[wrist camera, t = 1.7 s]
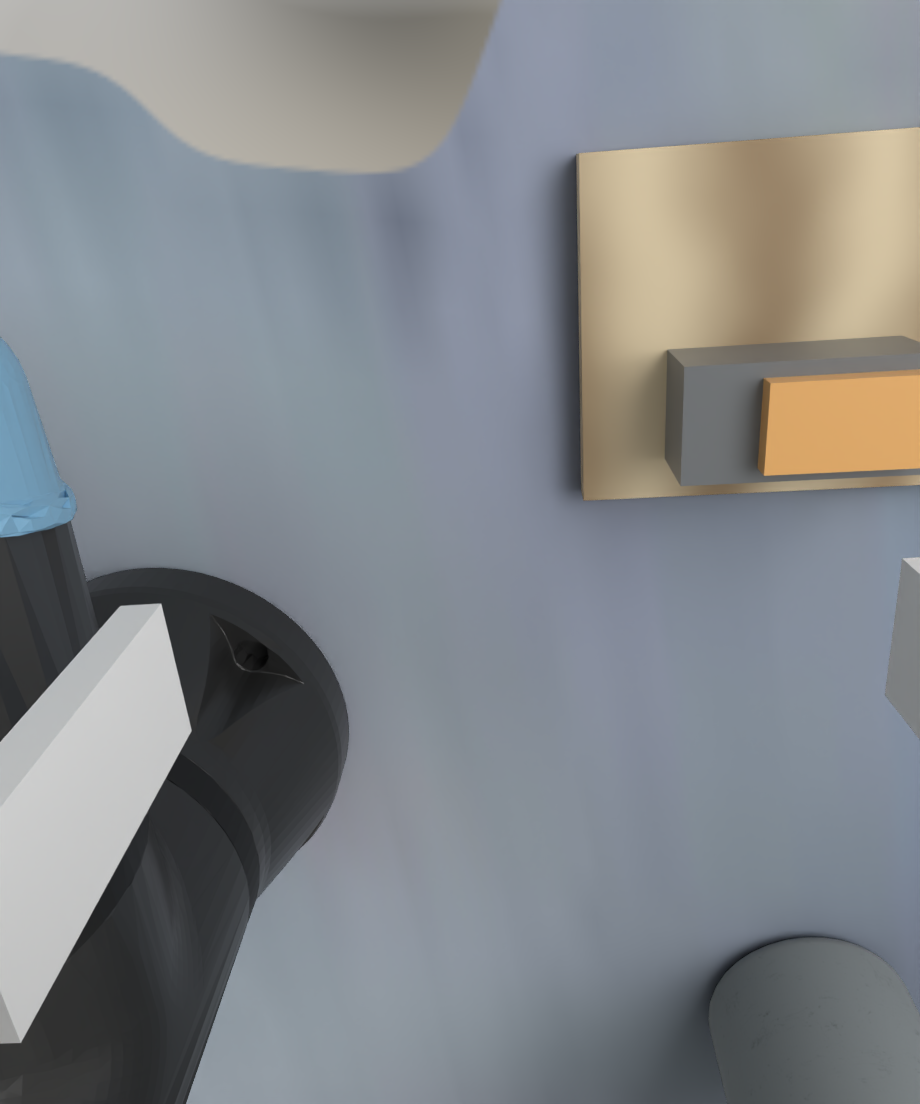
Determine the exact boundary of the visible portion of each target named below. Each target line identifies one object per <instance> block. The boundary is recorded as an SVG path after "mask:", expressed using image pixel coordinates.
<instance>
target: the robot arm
mask: <svg viewBox="0 0 920 1104" xmlns="http://www.w3.org/2000/svg"><path fill="white" fill-rule="evenodd" d="M76 511H77V505H76V500H75V496H74V493H73V491H72V489H71V488H70V487H69V486H68V485H67V484H66V483H65V482H64V481H62V480H61V479H60V477H59V474H58V471H57V468H56V465H55V462H54V459H53V456H52V453H51V450H50V447H49V444H48V441H47V438H46V435H45V432H44V429H43V426H42V423H41V420H40V417H39V414H38V411H37V408H36V405H35V402H34V399H33V396H32V393H31V390H30V387H29V384H28V381H27V378H26V375H25V373H24V371H23V368H22V366H21V364H20V362H19V360H18V359H17V357H16V356H15V354H14V353H13V351H12V350H11V348H10V347H9V346H8V345H7V343H6V342H5V341H4V340H3V339H2V338H1V337H0V1104H186V1102H187V1099H188V1096H189V1093H190V1090H191V1087H192V1084H193V1081H194V1078H195V1075H196V1072H197V1069H198V1067H199V1064H200V1061H201V1058H202V1055H203V1052H204V1049H205V1046H206V1043H207V1040H208V1037H209V1034H210V1032H211V1029H212V1026H213V1023H214V1020H215V1017H216V1014H217V1011H218V1008H219V1005H220V1002H221V999H222V996H223V994H224V991H225V988H226V985H227V982H228V979H229V976H230V973H231V970H232V967H233V964H234V961H235V959H236V956H237V953H238V950H239V947H240V944H241V941H242V938H243V935H244V932H245V929H246V926H247V923H248V920H249V918H250V915H251V912H252V909H253V907H254V904H255V901H256V899H257V898H258V897H259V896H260V895H261V894H262V892H263V891H264V890H265V889H266V888H267V887H268V885H269V884H270V883H271V882H272V881H273V880H274V878H275V877H276V876H277V875H278V874H279V873H280V872H281V870H282V869H283V868H284V867H285V866H286V864H287V863H288V862H289V861H290V859H291V858H292V857H293V856H294V855H295V853H296V852H297V851H298V850H299V849H300V848H301V847H302V846H303V845H304V844H305V843H306V842H307V841H308V840H309V839H310V838H311V837H312V836H313V835H314V834H315V832H316V831H317V829H318V828H319V827H320V825H321V824H322V822H323V820H324V819H325V817H326V815H327V813H328V811H329V809H330V807H331V805H332V803H333V800H334V798H335V795H336V792H337V789H338V785H339V782H340V778H341V775H342V771H343V768H344V764H345V761H346V756H347V751H348V741H349V725H348V715H347V710H346V705H345V701H344V697H343V694H342V691H341V688H340V686H339V683H338V681H337V679H336V677H335V674H334V672H333V670H332V669H331V667H330V665H329V663H328V662H327V660H326V659H325V657H324V655H323V654H322V652H321V651H320V650H319V648H318V647H317V646H316V644H315V643H314V642H313V641H312V640H311V638H310V637H309V636H308V635H307V634H306V633H305V632H304V631H303V630H302V629H301V628H300V627H299V626H298V625H297V624H296V623H295V622H294V621H293V620H292V619H290V618H289V617H288V616H287V615H286V614H284V613H283V612H282V611H280V610H279V609H278V608H276V607H275V606H274V605H272V604H271V603H269V602H267V601H266V600H264V599H263V598H261V597H259V596H257V595H256V594H254V593H252V592H250V591H248V590H246V589H244V588H242V587H240V586H237V585H235V584H233V583H230V582H228V581H225V580H222V579H219V578H216V577H213V576H209V575H205V574H201V573H197V572H192V571H186V570H178V569H167V568H144V569H133V570H126V571H120V572H116V573H112V574H108V575H105V576H102V577H98V578H96V579H93V580H91V581H88V582H86V578H85V574H84V570H83V567H82V563H81V559H80V555H79V551H78V547H77V544H76V540H75V536H74V532H73V528H72V524H71V521H70V520H72V519H73V518H74V515H75V513H76ZM885 696H886V697H887V698H888V700H889V701H890V702H891V703H892V705H893V706H894V707H895V709H896V710H897V711H898V712H899V714H900V715H901V716H902V718H903V719H904V720H905V721H906V723H907V724H908V725H909V727H910V728H911V729H912V730H913V732H914V733H915V734H916V735H917V737H918V738H919V739H920V557H919V558H902V565H901V572H900V580H899V588H898V596H897V604H896V612H895V619H894V627H893V635H892V643H891V651H890V658H889V666H888V674H887V682H886V690H885Z"/></svg>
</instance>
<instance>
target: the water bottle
mask: <svg viewBox="0 0 920 1104" xmlns="http://www.w3.org/2000/svg"><path fill="white" fill-rule="evenodd" d="M709 1027H710V1033H711V1037H712V1041H713V1046H714V1050H715V1054H716V1058H717V1062H718V1066H719V1071H720V1075H721V1079H722V1083H723V1087H724V1092H725V1096H726V1100H727V1104H920V1014H919V1012H918V1010H917V1008H916V1006H915V1004H914V1002H913V1000H912V998H911V996H910V994H909V992H908V990H907V988H906V986H905V984H904V983H903V981H902V980H901V979H900V977H899V976H898V974H897V973H896V972H895V970H894V969H893V968H892V967H891V966H890V965H889V964H887V963H886V962H885V961H884V960H883V959H882V958H880V957H879V956H877V955H875V954H874V953H872V952H870V951H868V950H866V949H865V948H863V947H861V946H858V945H855V944H852V943H849V942H846V941H843V940H837V939H831V938H824V937H804V938H796V939H789V940H784V941H780V942H777V943H773V944H770V945H767V946H765V947H762V948H760V949H758V950H756V951H753V952H751V953H750V954H748V955H747V956H745V957H744V958H742V959H741V960H739V961H737V962H736V963H735V964H734V965H733V966H732V967H731V968H730V969H729V970H728V971H727V972H726V973H725V974H724V976H723V977H722V979H721V980H720V981H719V983H718V984H717V986H716V989H715V991H714V994H713V996H712V999H711V1001H710V1007H709Z"/></svg>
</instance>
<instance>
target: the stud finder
mask: <svg viewBox="0 0 920 1104" xmlns="http://www.w3.org/2000/svg"><path fill="white" fill-rule="evenodd" d="M665 460H666V462H667V464H668V465H669V467H670V469H671V470H672V472H673V474H674V476H675V477H676V479H677V481H678V483H679V484H680V486H696V485H718V484H739V483H760V482H781V481H802V480H823V479H844V478H865V477H886V476H907V475H920V342H918V341H915V340H913V339H910V338H907V337H905V336H886V337H869V338H852V339H835V340H818V341H802V342H785V343H768V344H751V345H734V346H717V347H700V348H683V349H667V385H666V426H665Z"/></svg>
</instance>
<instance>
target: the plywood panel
mask: <svg viewBox="0 0 920 1104" xmlns="http://www.w3.org/2000/svg"><path fill="white" fill-rule="evenodd" d="M576 166H577V236H578V305H579V375H580V445H581V492H582V496H583V500H584V501H585V500H607V499H628V498H650V497H671V496H693V495H714V494H736V493H757V492H778V491H800V490H821V489H843V488H864V487H886V486H907V485H920V475H907V476H886V477H865V478H844V479H823V480H802V481H781V482H760V483H739V484H718V485H696V486H680V484H679V483H678V481H677V479H676V477H675V476H674V474H673V472H672V470H671V469H670V467H669V465H668V464H667V462H666V460H665V426H666V385H667V349H683V348H700V347H717V346H734V345H751V344H768V343H785V342H802V341H818V340H835V339H852V338H869V337H886V336H905V337H907V338H910V339H913V340H915V341H918V342H920V127H917V128H904V129H891V130H878V131H865V132H852V133H838V134H825V135H812V136H799V137H786V138H773V139H760V140H747V141H734V142H720V143H707V144H694V145H681V146H668V147H655V148H642V149H629V150H616V151H602V152H589V153H579V154H576Z"/></svg>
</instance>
